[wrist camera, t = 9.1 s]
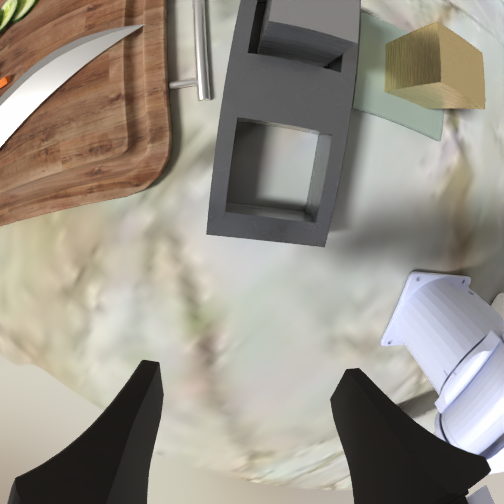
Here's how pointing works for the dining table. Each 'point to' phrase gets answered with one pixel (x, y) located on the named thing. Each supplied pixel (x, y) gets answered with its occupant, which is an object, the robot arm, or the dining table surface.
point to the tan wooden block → (435, 69)
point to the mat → (373, 81)
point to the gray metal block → (309, 29)
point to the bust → (499, 304)
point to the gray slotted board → (286, 116)
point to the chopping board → (86, 100)
